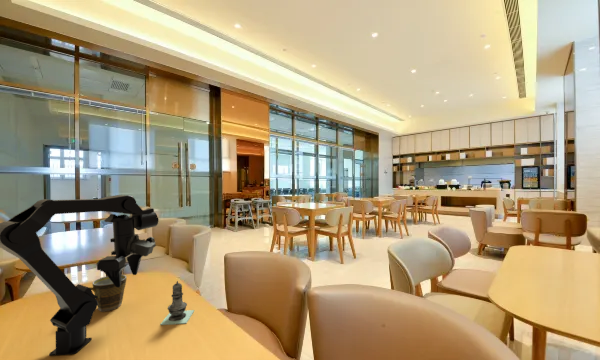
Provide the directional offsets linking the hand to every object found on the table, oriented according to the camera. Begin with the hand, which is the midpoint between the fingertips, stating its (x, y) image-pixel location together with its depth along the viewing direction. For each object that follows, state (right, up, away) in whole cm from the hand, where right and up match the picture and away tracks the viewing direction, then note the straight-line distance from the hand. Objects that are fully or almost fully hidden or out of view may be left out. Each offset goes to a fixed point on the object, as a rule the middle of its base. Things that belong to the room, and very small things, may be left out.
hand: (127, 280), depth 84 cm
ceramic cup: (-13, -14, +8) cm, 20 cm away
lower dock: (+16, -13, +2) cm, 21 cm away
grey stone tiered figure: (+16, -13, +2) cm, 20 cm away
